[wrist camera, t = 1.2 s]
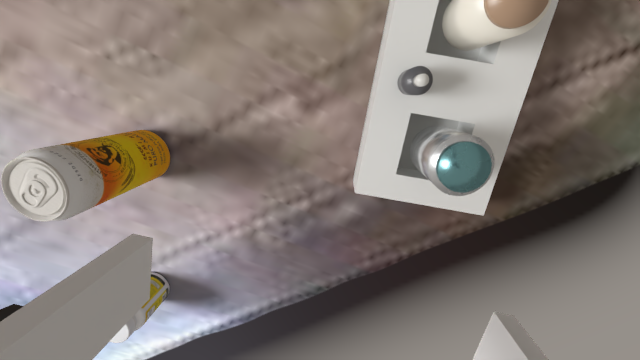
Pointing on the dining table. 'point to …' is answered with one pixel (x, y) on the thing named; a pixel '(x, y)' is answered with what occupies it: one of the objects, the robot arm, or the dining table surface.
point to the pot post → (415, 81)
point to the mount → (440, 101)
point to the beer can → (82, 173)
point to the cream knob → (489, 20)
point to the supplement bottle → (145, 307)
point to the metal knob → (452, 159)
